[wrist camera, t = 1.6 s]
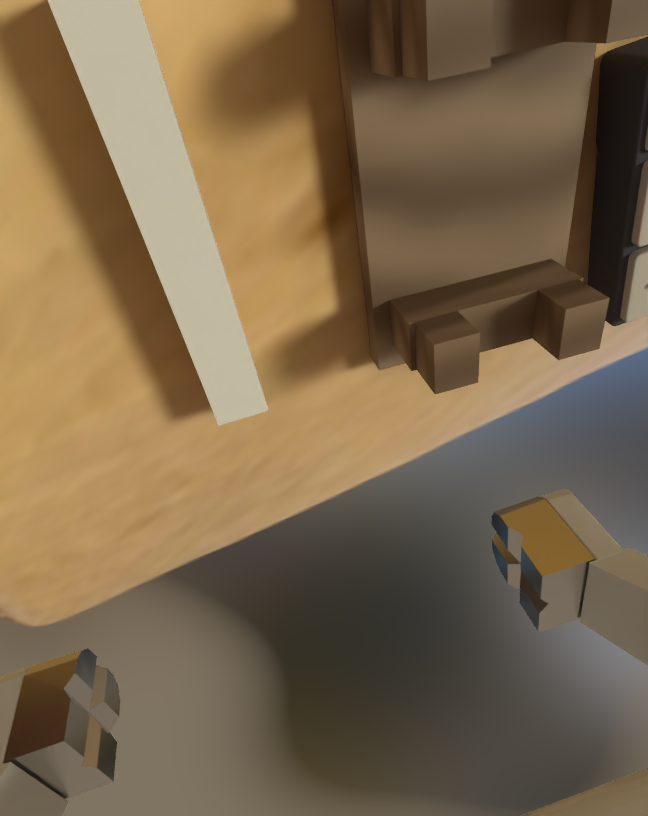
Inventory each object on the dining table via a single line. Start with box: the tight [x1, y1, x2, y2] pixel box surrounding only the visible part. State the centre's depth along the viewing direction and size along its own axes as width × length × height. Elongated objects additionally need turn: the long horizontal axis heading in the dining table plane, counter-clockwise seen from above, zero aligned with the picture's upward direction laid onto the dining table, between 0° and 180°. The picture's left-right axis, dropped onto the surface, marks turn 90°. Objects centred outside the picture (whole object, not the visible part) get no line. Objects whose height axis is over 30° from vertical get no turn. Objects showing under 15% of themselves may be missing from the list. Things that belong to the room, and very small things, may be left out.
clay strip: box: [48, 0, 269, 425], centre depth 26 cm, size 20×3×3 cm, turn 11°
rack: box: [332, 0, 648, 394], centre depth 25 cm, size 20×12×7 cm, turn 9°
